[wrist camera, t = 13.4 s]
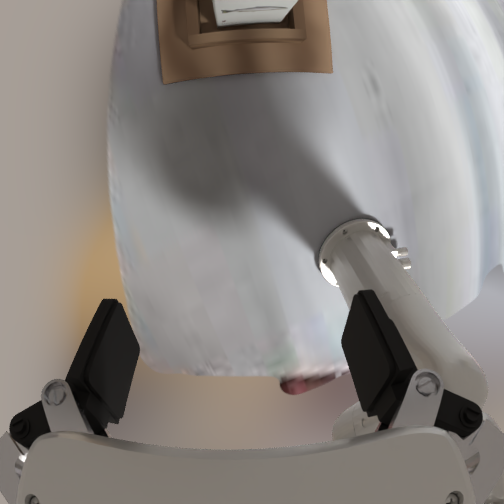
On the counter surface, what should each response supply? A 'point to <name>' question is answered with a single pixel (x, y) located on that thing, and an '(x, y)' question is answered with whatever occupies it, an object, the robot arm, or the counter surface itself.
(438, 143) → the counter surface
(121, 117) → the counter surface
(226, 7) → the supplement box
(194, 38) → the walnut holder
